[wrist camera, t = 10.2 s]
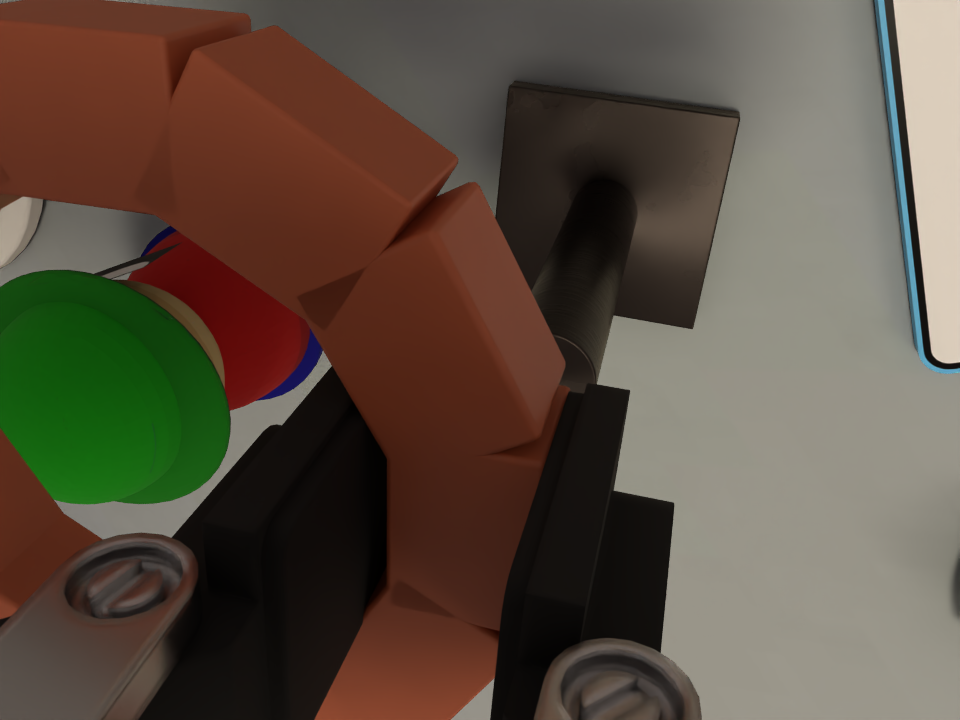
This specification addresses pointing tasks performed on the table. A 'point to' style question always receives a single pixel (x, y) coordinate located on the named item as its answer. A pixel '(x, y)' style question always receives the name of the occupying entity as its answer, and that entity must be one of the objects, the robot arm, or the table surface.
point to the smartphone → (926, 163)
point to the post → (610, 210)
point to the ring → (308, 299)
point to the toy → (140, 370)
